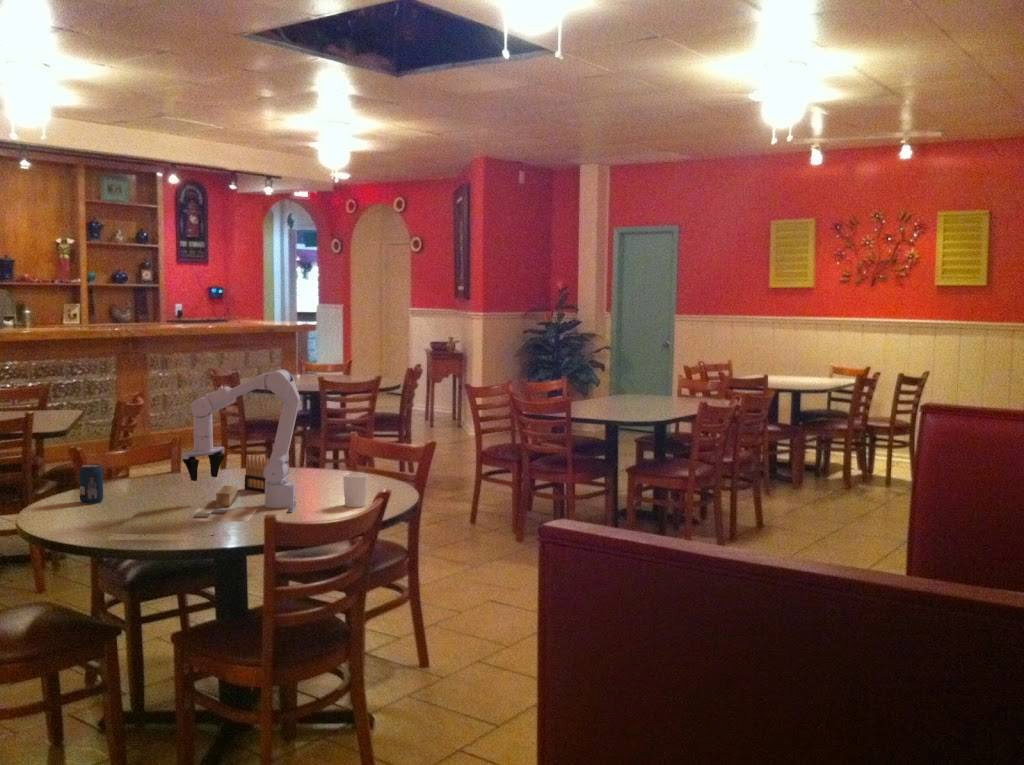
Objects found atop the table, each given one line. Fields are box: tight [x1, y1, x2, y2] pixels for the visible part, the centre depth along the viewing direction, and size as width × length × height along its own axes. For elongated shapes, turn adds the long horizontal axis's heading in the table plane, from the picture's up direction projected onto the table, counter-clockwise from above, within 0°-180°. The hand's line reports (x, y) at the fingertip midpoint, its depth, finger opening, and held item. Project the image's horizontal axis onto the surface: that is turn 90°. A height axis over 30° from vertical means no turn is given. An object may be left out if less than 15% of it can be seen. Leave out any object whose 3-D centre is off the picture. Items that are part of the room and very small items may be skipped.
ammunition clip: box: [244, 454, 269, 494], centre depth 345 cm, size 11×2×12 cm, turn 60°
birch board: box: [185, 508, 258, 522], centre depth 304 cm, size 18×16×2 cm
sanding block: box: [215, 485, 238, 508], centre depth 319 cm, size 4×12×6 cm, turn 4°
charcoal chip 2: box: [211, 508, 228, 514], centre depth 306 cm, size 4×4×1 cm
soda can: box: [78, 463, 104, 505], centre depth 323 cm, size 7×7×12 cm
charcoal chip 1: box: [194, 513, 210, 518], centre depth 301 cm, size 4×4×1 cm
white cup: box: [342, 472, 369, 508], centre depth 326 cm, size 8×8×10 cm
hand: (204, 478), depth 316 cm, fingers open, 7 cm apart
